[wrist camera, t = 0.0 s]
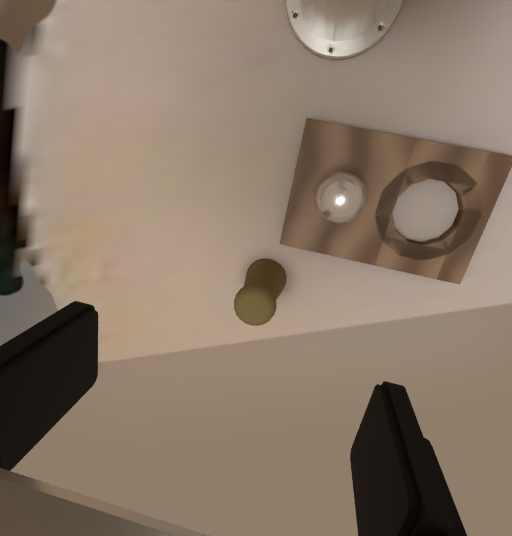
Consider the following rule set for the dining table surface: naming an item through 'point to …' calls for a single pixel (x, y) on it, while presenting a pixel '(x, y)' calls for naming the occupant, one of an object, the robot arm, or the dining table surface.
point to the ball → (340, 197)
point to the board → (392, 198)
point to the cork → (260, 292)
